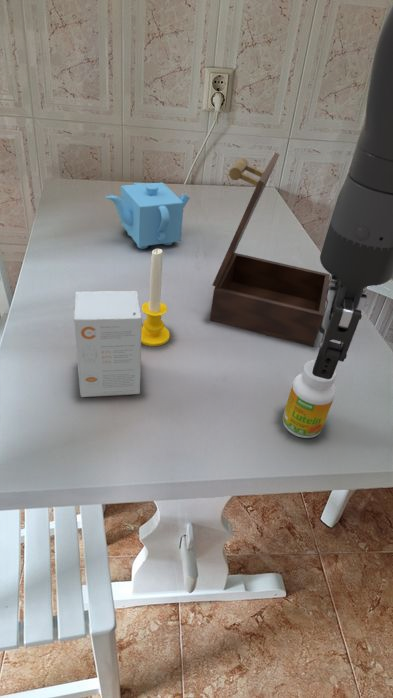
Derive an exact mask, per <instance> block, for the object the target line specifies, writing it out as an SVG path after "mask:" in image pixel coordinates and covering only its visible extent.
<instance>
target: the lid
mask: <svg viewBox="0 0 393 698" xmlns="http://www.w3.org/2000/svg"><path fill="white" fill-rule="evenodd" d="M279 157H280V153H277V152H274V154H273V155H272V157H271V158H270V161H269V162H268V164H267V166H266V167H265V169H264V171H263V170H260V169H258V168H256V167H255V166H252V165H249V161H248V160H247V158H245V157H239V158H238V159H237V160H236V162H235V163H234V164H233V166H232V167H230V169H229V172H228V176H229V178H230V180H233V181H238V180H242V181H244V182H247V183H249V184H250V185H252V186H255V188H254V190H253V193H252V195H251V198H250V200H249V201H248V204H247V206H246V209H245V211H244V212H243V215H242V217H241V220H240V221H239V224H238V226H237V228H236V231H235V232H234V235H233V237H232V240H231V241H230V245H229V247H228V248H227V251H226V253H225V255H224V257H223V260H222V262H221V264H220V267H219V269H218V271H217V274H216V275H215V278H214V280H213V283H212V286H213V287H214V288H215V287H217V286H218V284H219V282H220V280H221V278H222V276H223V274H224V272H225V270H226V268H227V266H228V265H229V263H230V261H231V259H232V257H233V255H234V253H236V251H237V248H238V247H239V245H240V243H241V241H242V238H243V236H244V233H245V231H246V229H247V227H248V225H249V223H250V220H251V218H252V216H253V214H254V212H255V210H256V207H257V205H258V203H259V201H260V199H261V197H262V194H263V193H264V190H265V188H266V185H267V184H268V181H269V179H270V177H271V175H272V173H273V170H274V168H275V166H276V164H277V162H278V159H279ZM245 172H249V173H251V174H253V175H254V176H257V177H259V179H257V178H254V177H253V176H250V175H248V174H246V173H245Z"/></svg>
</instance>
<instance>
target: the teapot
mask: <svg viewBox="0 0 393 698" xmlns="http://www.w3.org/2000/svg"><path fill="white" fill-rule="evenodd" d="M104 198H106V199H108V200H110V201H112V202H113V204H114V205H115V208H116V211H117V215H118V217H119V219H120V224H121V226H122V227H123V229H125V231H126V232H127V235H128V236H130V237H131V239H132V240H133V241H134V243H135V244H136V247H137V248H139V249H147V248H148V247H149V246H155V245H161V244H162V245H164V246H172V245H173V243H177V242H181V239H182V229H183V217H184V208H185V207H186V205H187V204H188V202H189V200H190V198H191V197H190V196H189V195H188V194H185V193H181V195H180V196H179V197H178V196H177V195H176V194H175V193H174V192H173V190H171V189H170V188H169V187H168V186H167V185H166V184H165V183H164V182H162V181H161V182H150V183H149V182H147V183H144V182H143V183H142V182H133V183H132V184H125V185H121V186H120V197H119V196H117V195H115V194H114V195H113V194H111V195H104Z"/></svg>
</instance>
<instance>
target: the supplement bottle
mask: <svg viewBox="0 0 393 698" xmlns="http://www.w3.org/2000/svg"><path fill="white" fill-rule="evenodd" d="M315 361H316V359H311V360H308V361H306V362H305V363H304V366H303V369H302V371H301V372H300V373H299V374H297V375H296V376H295V378H294V379H293V382H292V384H291V387H290V392H289V394H288V398H287V400H286V405H285V408H284V411H283V414H282V424H283V426H284V428H285V429H286V430H287V431H288V432H289V433H290V434H292V435H294V436H296V437H298V438H303V439H311V438H314V437H316V436H318V435H319V434H320V433H321V432H322V430H323V428H324V425H325V423H326V420H327V417H328V415H329V412H330V409H331V407H332V404H333V402H334V400H335V397H336V394H337V387H336V385H335V381H336V377H337V370H335V371H334V374H333V376H332V378H331V379H324V378H321V377H317V376H314V375H313V373H312V372H313V367H314V364H315Z"/></svg>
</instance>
